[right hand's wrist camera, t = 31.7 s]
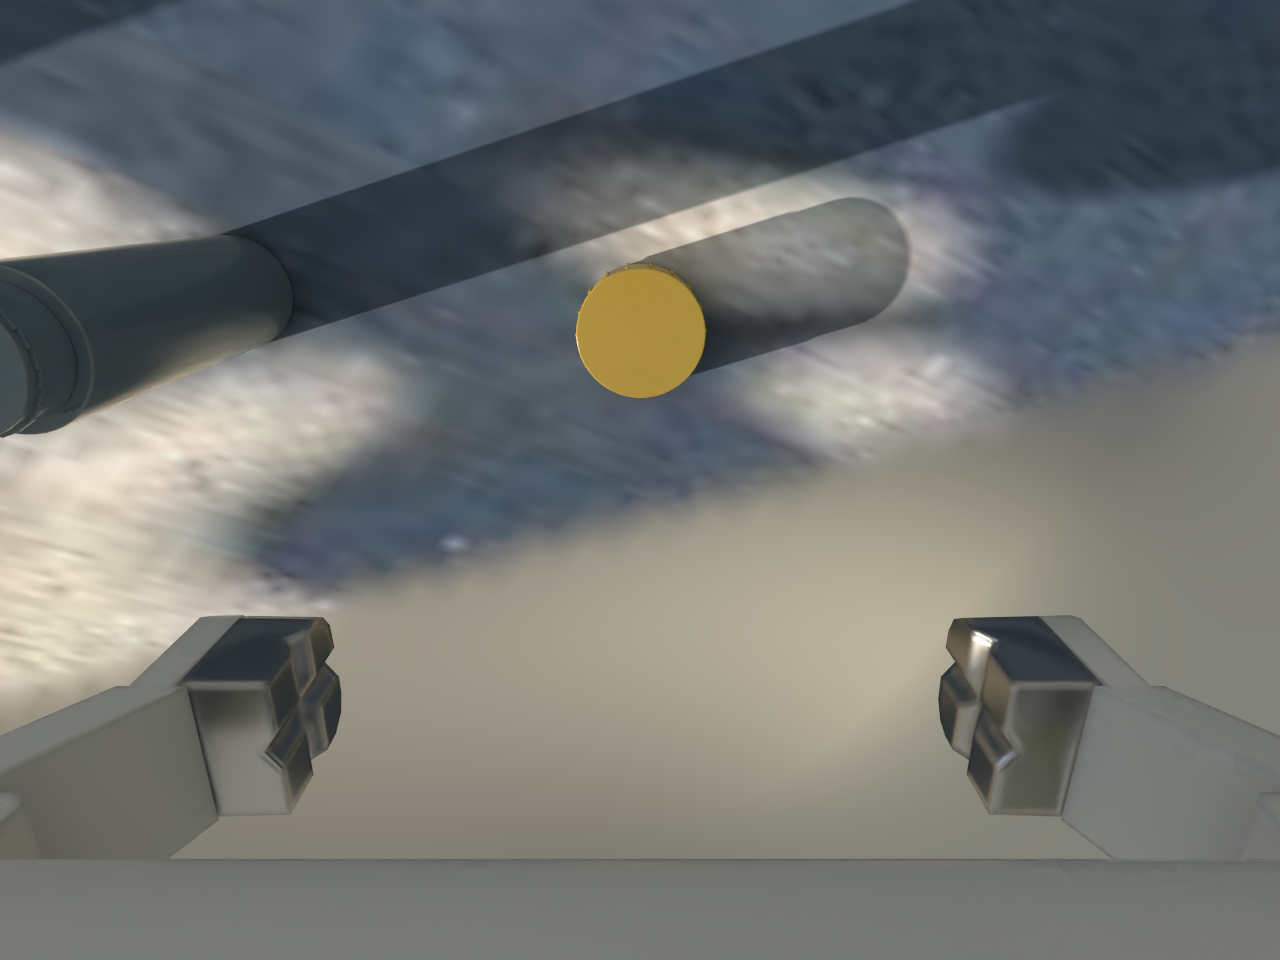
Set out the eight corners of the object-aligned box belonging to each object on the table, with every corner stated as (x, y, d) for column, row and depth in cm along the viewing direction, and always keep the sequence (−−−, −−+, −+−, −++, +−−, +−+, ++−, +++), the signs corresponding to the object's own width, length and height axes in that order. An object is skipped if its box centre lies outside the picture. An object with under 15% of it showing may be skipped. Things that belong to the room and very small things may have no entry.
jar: (275, 364, 36) (26, 485, 21) (169, 317, 35) (-164, 408, 21) (307, 265, 34) (62, 322, 20) (197, 214, 33) (-142, 233, 19)
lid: (599, 244, 34) (596, 248, 32) (721, 285, 35) (726, 292, 32) (563, 365, 36) (559, 376, 34) (680, 402, 36) (682, 415, 34)
